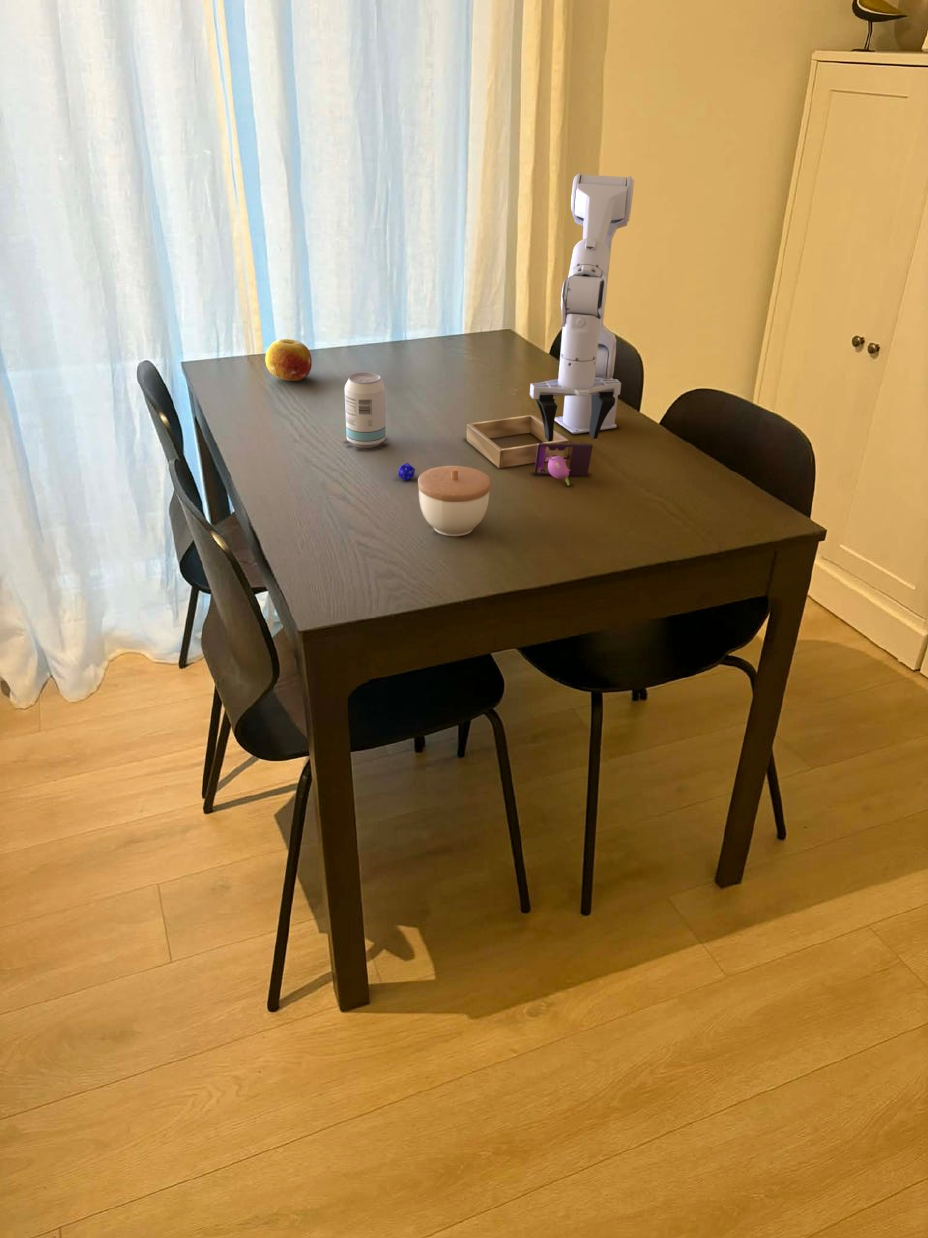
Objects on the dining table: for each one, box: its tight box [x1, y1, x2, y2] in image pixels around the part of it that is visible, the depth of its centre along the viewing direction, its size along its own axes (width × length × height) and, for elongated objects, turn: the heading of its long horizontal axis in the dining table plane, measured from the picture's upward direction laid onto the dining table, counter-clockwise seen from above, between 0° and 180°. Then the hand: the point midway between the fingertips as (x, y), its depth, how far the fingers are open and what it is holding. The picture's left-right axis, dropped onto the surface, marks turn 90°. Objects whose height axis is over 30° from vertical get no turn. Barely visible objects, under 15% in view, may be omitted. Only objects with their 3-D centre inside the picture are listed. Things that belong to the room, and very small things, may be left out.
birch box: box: [466, 414, 570, 469], centre depth 174 cm, size 13×13×3 cm
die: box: [397, 462, 416, 482], centre depth 162 cm, size 3×3×3 cm
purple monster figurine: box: [533, 442, 594, 486], centre depth 162 cm, size 7×5×9 cm
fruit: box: [264, 338, 313, 382], centre depth 201 cm, size 10×9×8 cm
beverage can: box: [344, 371, 386, 449], centre depth 172 cm, size 7×7×12 cm
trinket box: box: [417, 465, 492, 537], centre depth 146 cm, size 11×11×9 cm
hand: (571, 437), depth 160 cm, fingers open, 7 cm apart
